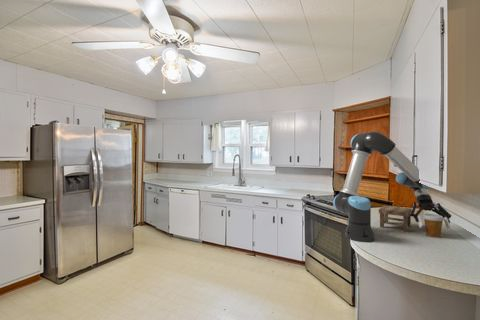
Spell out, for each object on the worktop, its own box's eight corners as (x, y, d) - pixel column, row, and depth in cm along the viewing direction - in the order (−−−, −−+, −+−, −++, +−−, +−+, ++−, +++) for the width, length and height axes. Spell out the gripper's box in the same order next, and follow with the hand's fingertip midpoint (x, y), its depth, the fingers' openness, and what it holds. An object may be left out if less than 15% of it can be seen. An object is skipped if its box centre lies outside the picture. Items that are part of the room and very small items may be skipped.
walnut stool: (378, 227, 157) (378, 209, 157) (384, 222, 169) (384, 205, 169) (408, 232, 147) (408, 212, 146) (411, 226, 158) (411, 208, 158)
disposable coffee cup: (436, 233, 143) (435, 213, 143) (448, 238, 134) (448, 217, 134) (419, 233, 144) (419, 213, 144) (430, 238, 135) (430, 217, 135)
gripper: (444, 201, 150) (458, 232, 136) (399, 199, 158) (408, 228, 144) (449, 194, 145) (464, 225, 131) (402, 193, 153) (411, 222, 139)
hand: (434, 227), depth 137 cm, fingers open, 13 cm apart
